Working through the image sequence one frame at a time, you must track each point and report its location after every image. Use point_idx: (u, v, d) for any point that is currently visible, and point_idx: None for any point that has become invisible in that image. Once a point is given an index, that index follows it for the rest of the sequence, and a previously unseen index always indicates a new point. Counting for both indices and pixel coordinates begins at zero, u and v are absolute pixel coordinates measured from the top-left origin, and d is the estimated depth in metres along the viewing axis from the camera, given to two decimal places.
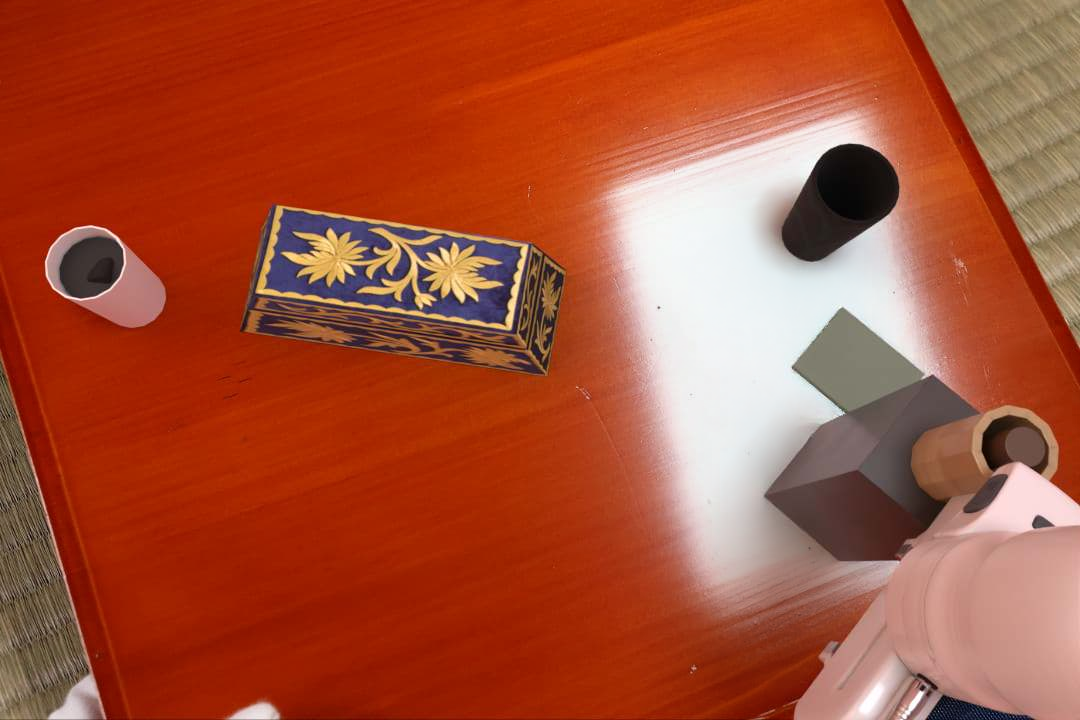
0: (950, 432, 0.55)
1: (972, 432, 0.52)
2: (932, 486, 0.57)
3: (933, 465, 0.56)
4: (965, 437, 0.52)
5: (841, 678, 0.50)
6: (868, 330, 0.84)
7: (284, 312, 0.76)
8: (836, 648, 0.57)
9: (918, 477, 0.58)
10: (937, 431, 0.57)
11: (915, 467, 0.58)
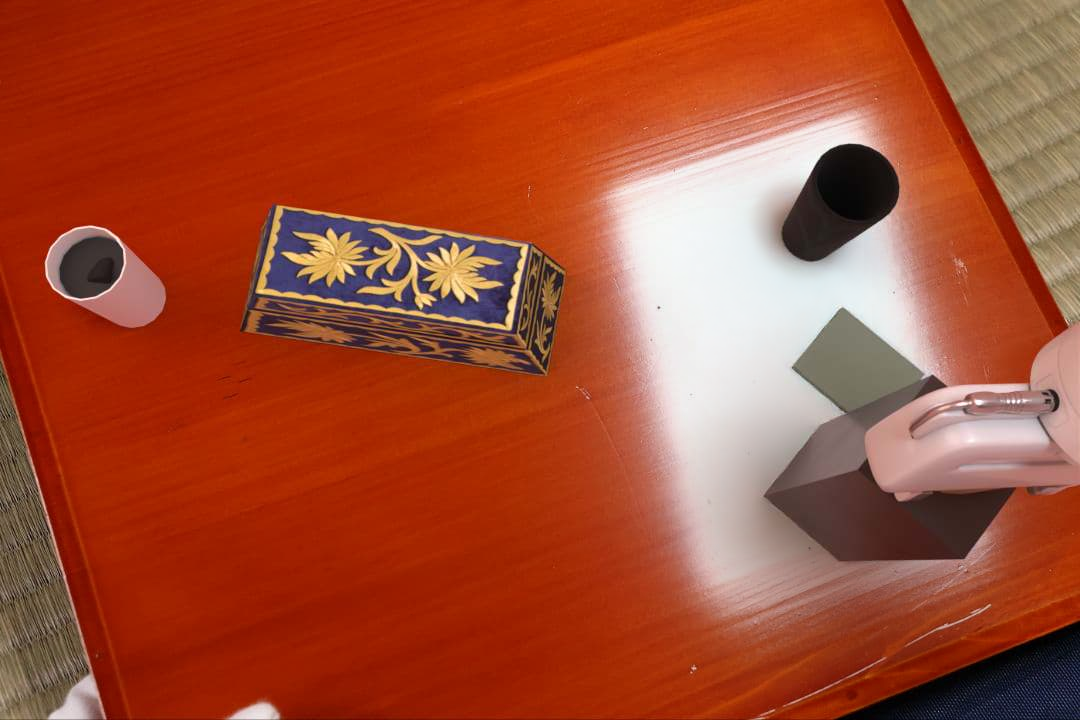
0: None
1: None
2: None
3: None
4: None
5: None
6: (868, 330, 0.84)
7: (284, 312, 0.76)
8: None
9: None
10: None
11: None
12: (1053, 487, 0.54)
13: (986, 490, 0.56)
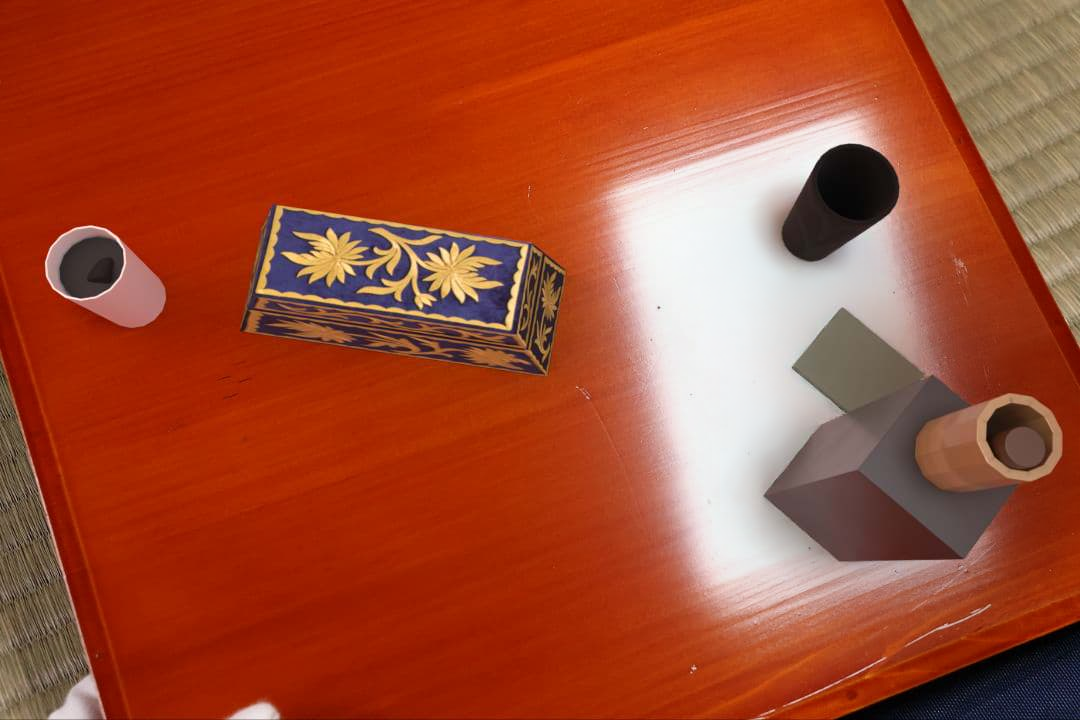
0: (953, 422, 0.55)
1: (976, 422, 0.52)
2: (937, 476, 0.57)
3: (938, 455, 0.56)
4: (969, 427, 0.52)
5: None
6: (868, 330, 0.84)
7: (284, 312, 0.76)
8: None
9: (923, 467, 0.59)
10: (940, 421, 0.57)
11: (919, 458, 0.58)
12: None
13: (984, 488, 0.56)
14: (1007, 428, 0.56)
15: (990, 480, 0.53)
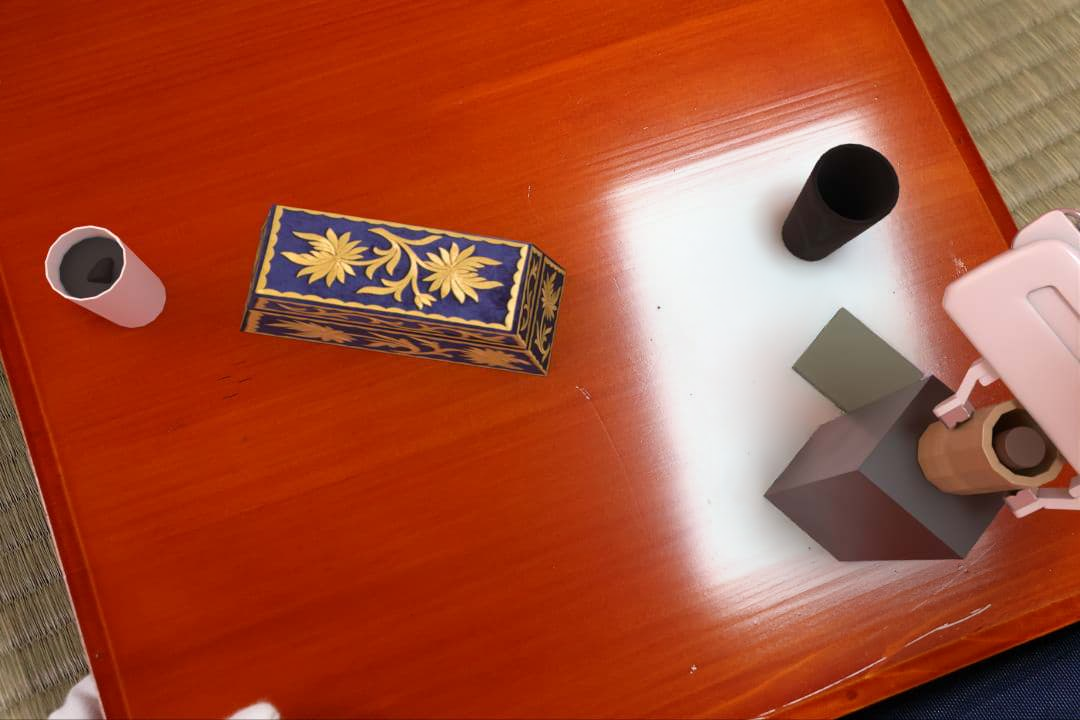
0: (958, 426, 0.55)
1: (982, 427, 0.52)
2: (940, 479, 0.57)
3: (941, 459, 0.56)
4: (974, 432, 0.52)
5: None
6: (868, 330, 0.84)
7: (284, 312, 0.76)
8: (970, 404, 0.55)
9: (925, 470, 0.58)
10: None
11: (922, 460, 0.58)
12: (1032, 493, 0.53)
13: (987, 492, 0.56)
14: None
15: (994, 485, 0.53)
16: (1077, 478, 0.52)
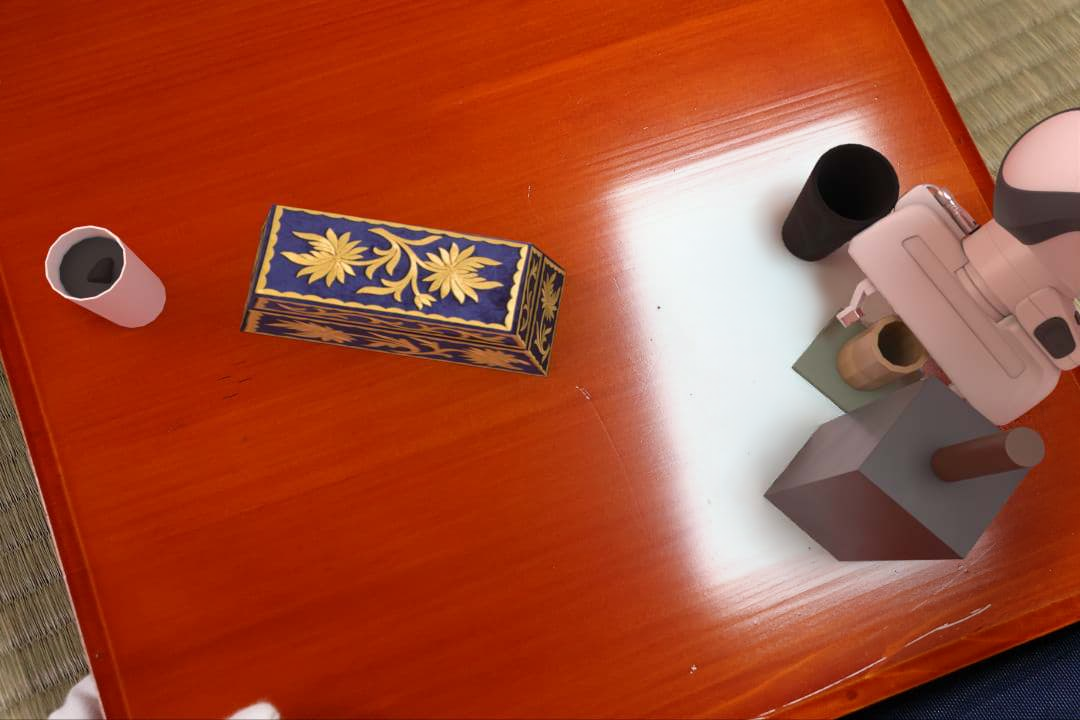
0: (859, 337, 0.78)
1: (871, 333, 0.75)
2: (851, 378, 0.81)
3: (850, 362, 0.80)
4: (867, 338, 0.76)
5: None
6: None
7: (284, 312, 0.76)
8: None
9: (841, 373, 0.82)
10: (853, 339, 0.81)
11: (839, 366, 0.82)
12: None
13: (882, 384, 0.79)
14: (898, 342, 0.79)
15: (882, 375, 0.76)
16: (951, 383, 0.76)
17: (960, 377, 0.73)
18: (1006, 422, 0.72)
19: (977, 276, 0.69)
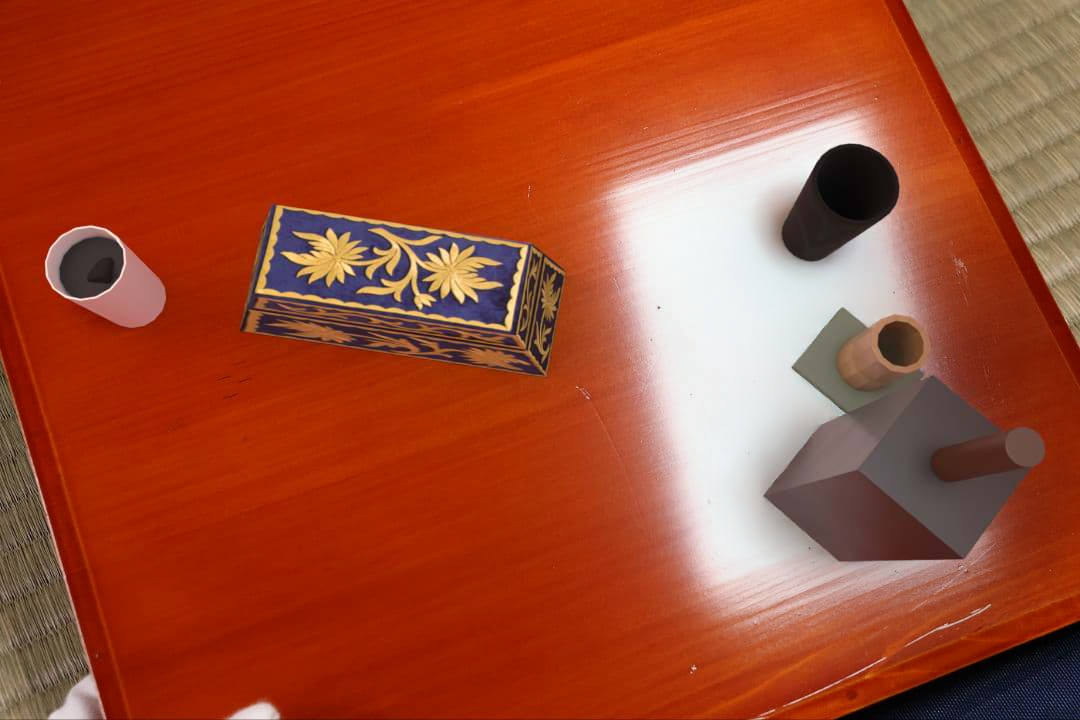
0: (859, 337, 0.78)
1: (871, 333, 0.75)
2: (851, 378, 0.81)
3: (850, 362, 0.80)
4: (867, 338, 0.76)
5: None
6: None
7: (284, 312, 0.76)
8: None
9: (841, 373, 0.82)
10: (853, 339, 0.81)
11: (839, 366, 0.82)
12: None
13: (882, 384, 0.79)
14: (898, 342, 0.79)
15: (882, 375, 0.76)
16: None
17: None
18: None
19: None
